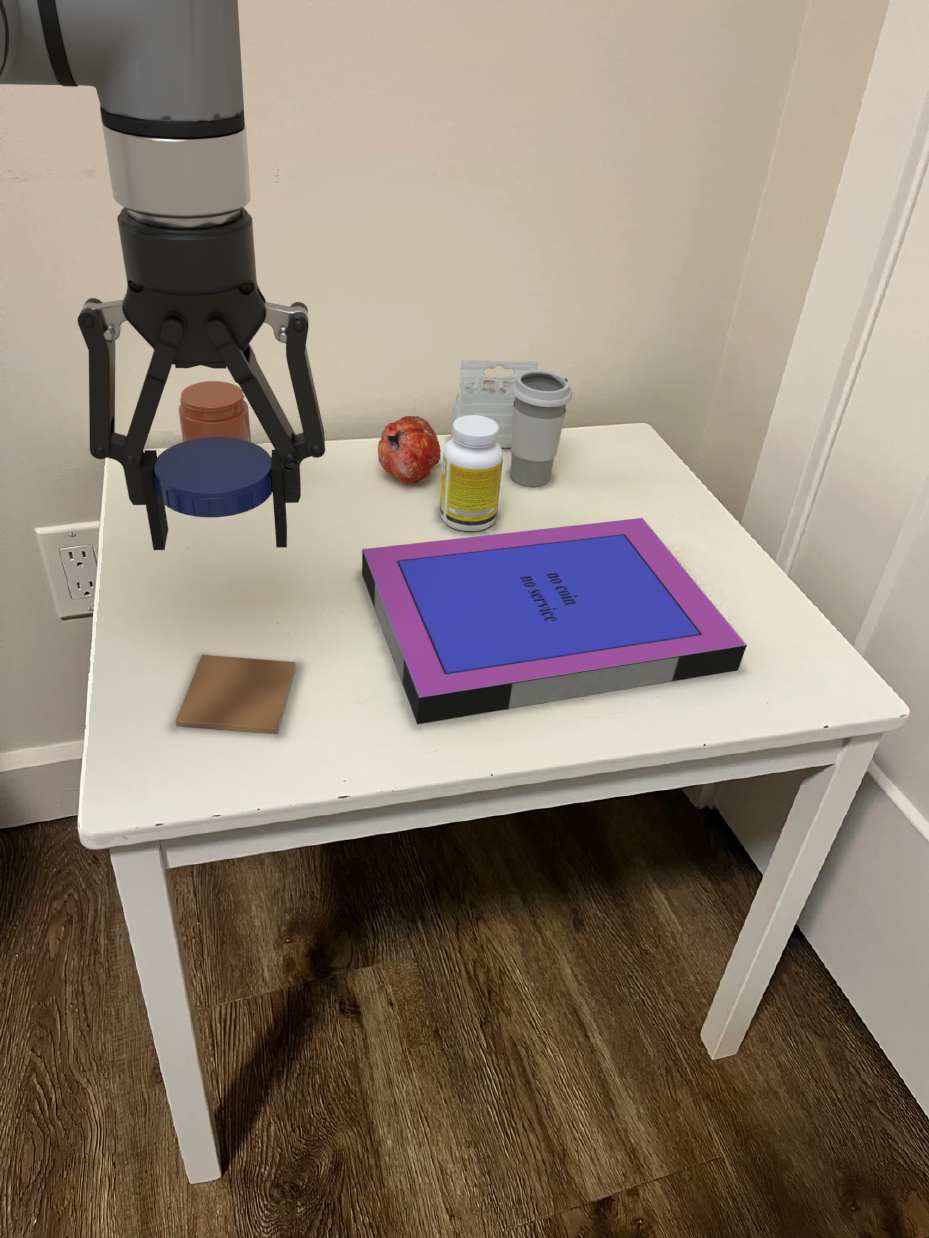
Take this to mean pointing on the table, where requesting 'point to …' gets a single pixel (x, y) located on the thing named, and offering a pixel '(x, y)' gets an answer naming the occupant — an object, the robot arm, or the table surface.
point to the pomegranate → (409, 449)
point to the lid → (213, 476)
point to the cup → (537, 424)
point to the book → (542, 617)
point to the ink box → (489, 394)
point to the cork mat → (237, 694)
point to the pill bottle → (471, 474)
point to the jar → (214, 411)
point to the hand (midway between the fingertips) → (222, 538)
